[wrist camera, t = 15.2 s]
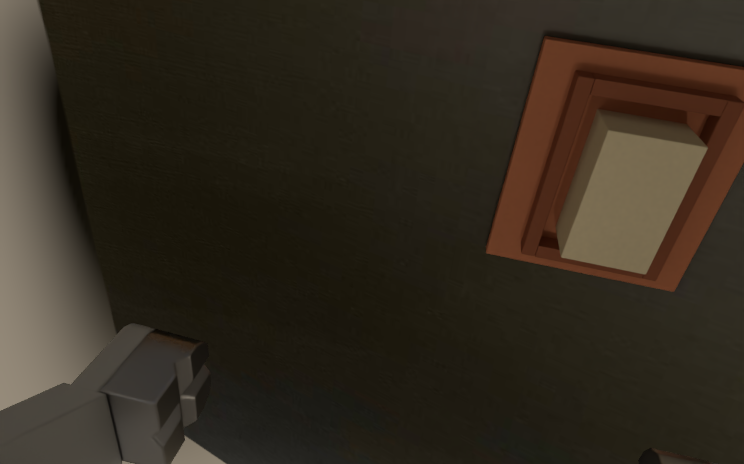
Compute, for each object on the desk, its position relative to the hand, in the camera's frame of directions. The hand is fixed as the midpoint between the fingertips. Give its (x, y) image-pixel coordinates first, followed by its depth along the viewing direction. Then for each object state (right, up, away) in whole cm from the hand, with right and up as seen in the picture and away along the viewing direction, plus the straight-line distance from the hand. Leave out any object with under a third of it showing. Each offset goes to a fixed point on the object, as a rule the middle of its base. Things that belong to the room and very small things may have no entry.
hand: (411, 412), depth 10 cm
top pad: (+16, +7, +26) cm, 31 cm away
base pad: (+16, +8, +26) cm, 32 cm away
